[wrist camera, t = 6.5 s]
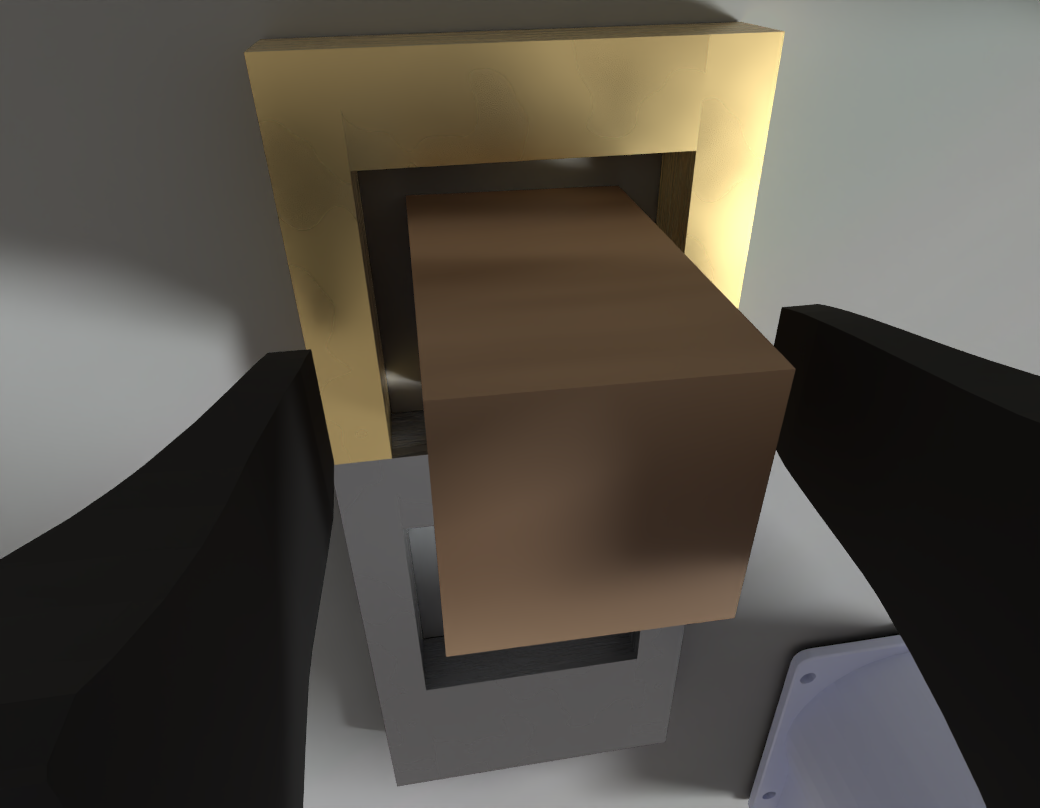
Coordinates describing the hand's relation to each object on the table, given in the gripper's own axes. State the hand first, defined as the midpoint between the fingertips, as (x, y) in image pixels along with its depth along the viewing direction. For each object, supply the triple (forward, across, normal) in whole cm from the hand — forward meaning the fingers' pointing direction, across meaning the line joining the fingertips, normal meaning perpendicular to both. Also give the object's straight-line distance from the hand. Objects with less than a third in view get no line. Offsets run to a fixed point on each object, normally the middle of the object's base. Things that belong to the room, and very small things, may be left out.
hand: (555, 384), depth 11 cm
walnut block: (+4, 0, 0) cm, 4 cm away
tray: (+4, 0, +5) cm, 6 cm away
